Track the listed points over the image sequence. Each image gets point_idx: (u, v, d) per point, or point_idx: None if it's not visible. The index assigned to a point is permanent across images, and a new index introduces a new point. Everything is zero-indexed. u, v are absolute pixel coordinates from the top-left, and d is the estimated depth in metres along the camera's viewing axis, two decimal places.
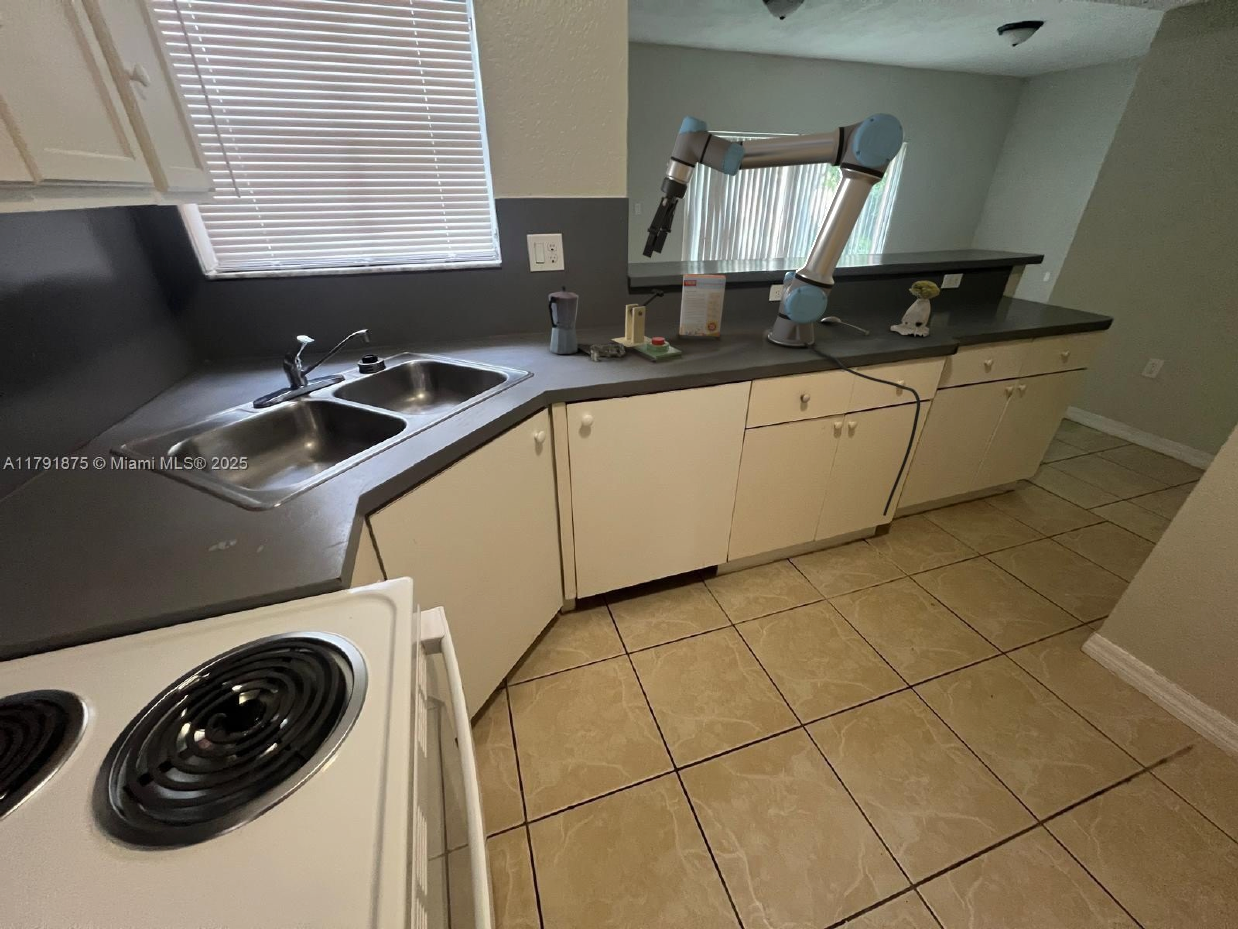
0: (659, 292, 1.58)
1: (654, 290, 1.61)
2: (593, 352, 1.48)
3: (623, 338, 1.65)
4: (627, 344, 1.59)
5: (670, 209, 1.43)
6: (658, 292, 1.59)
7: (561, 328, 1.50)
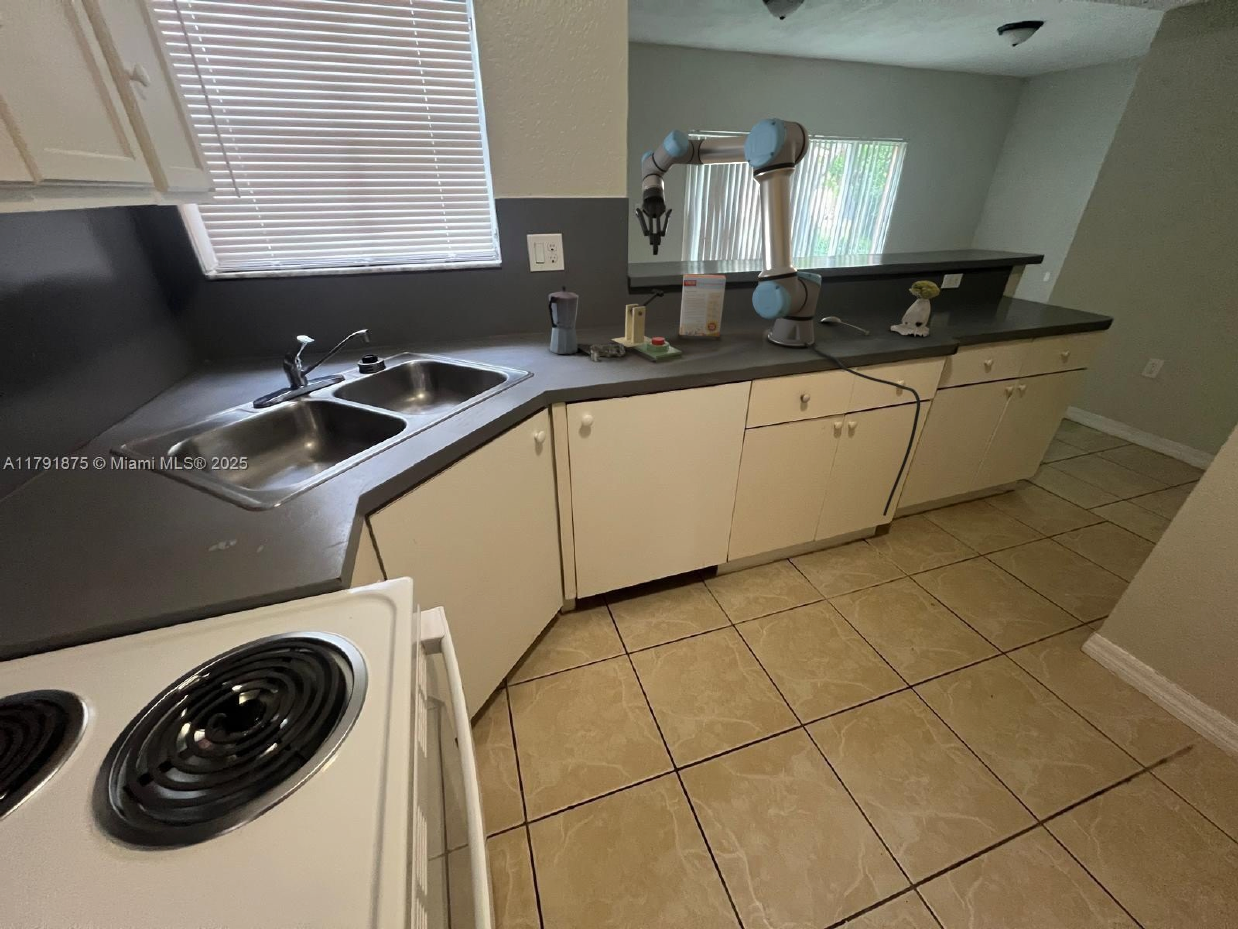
0: (659, 292, 1.58)
1: (654, 290, 1.61)
2: (593, 352, 1.48)
3: (623, 338, 1.65)
4: (627, 344, 1.59)
5: (649, 210, 1.66)
6: (658, 292, 1.59)
7: (561, 328, 1.50)
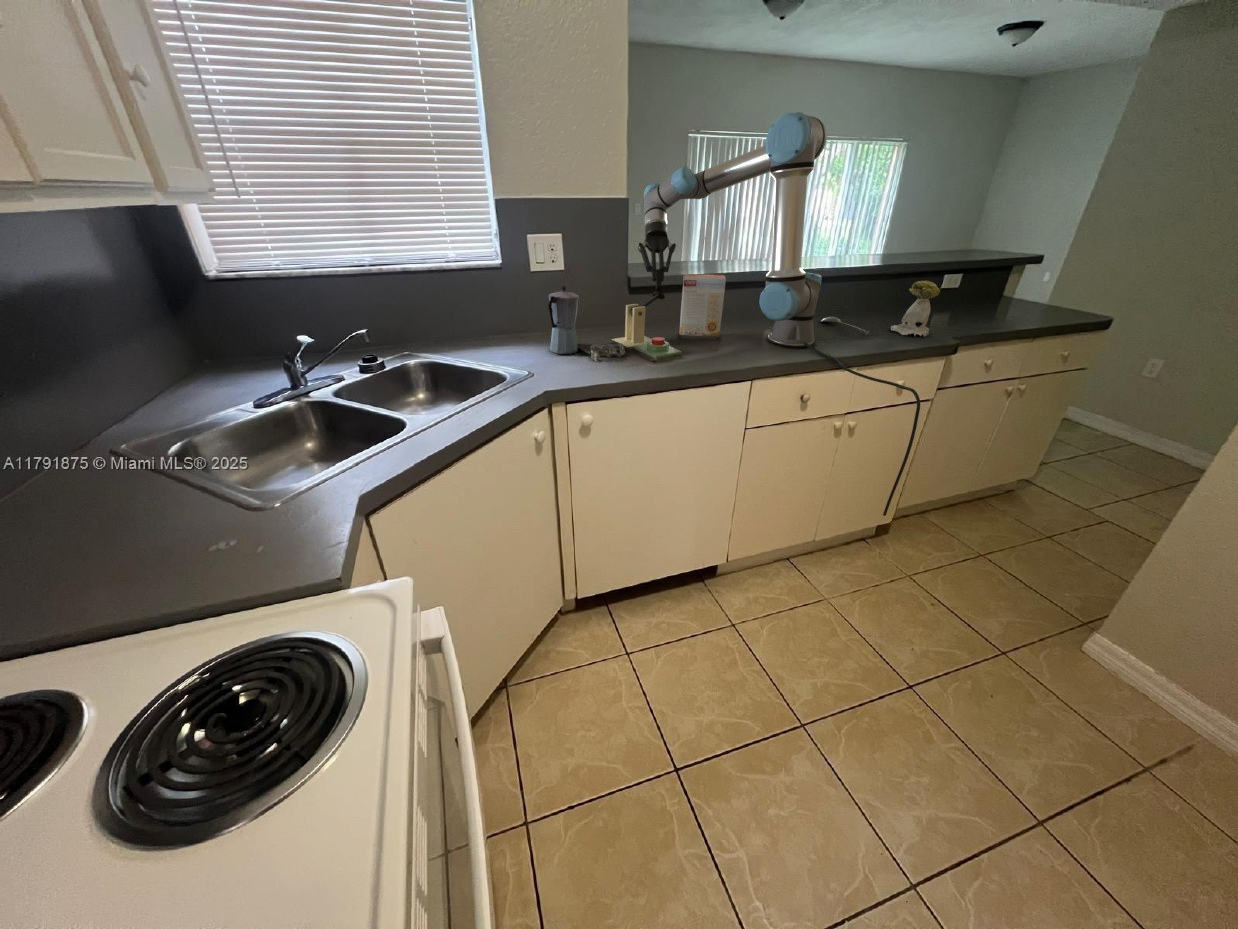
0: (660, 294, 1.59)
1: (655, 292, 1.61)
2: (593, 352, 1.48)
3: (623, 338, 1.65)
4: (627, 344, 1.59)
5: (651, 245, 1.61)
6: (659, 294, 1.59)
7: (561, 328, 1.50)
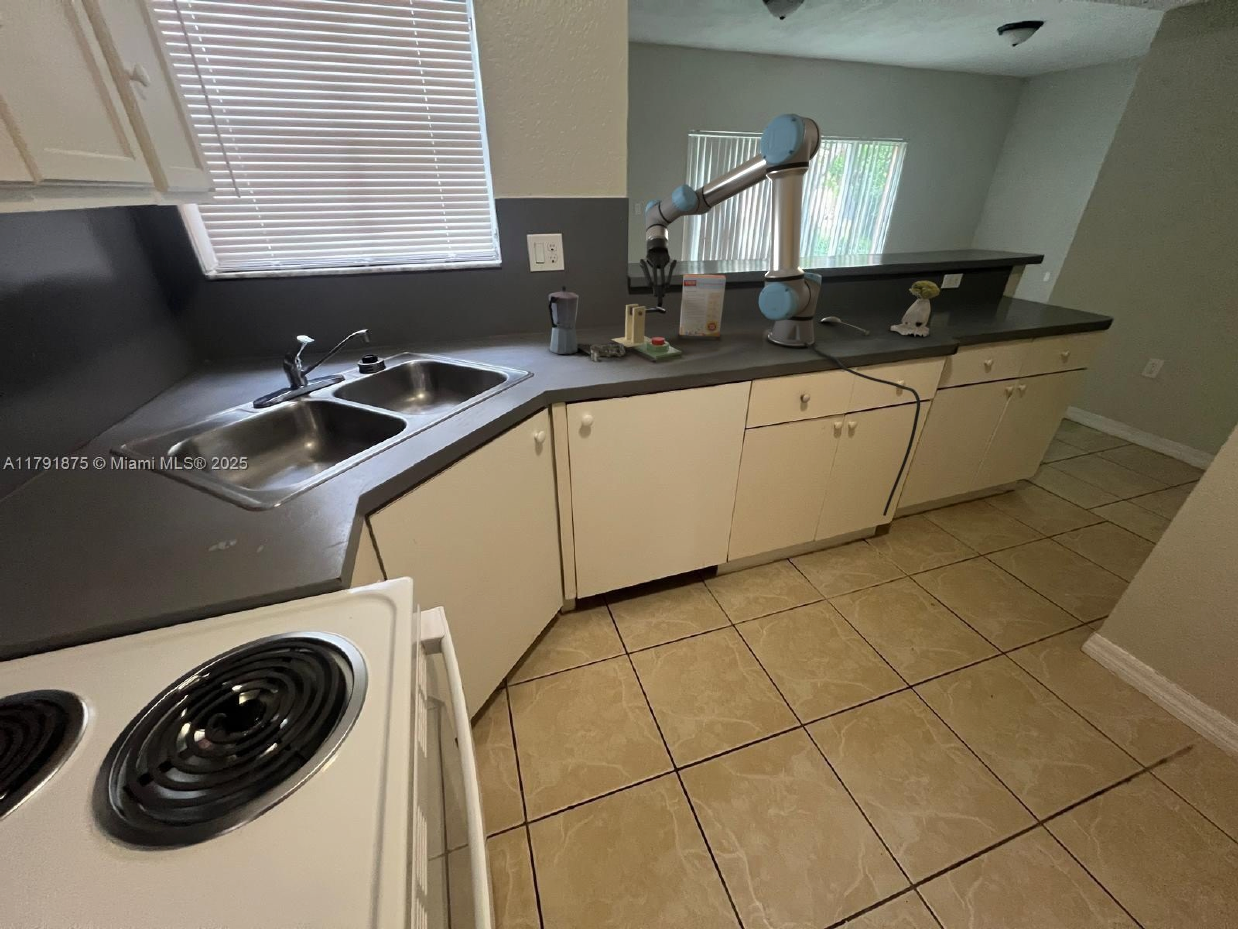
0: (662, 309, 1.62)
1: (657, 307, 1.64)
2: (593, 352, 1.48)
3: (623, 338, 1.65)
4: (627, 344, 1.59)
5: (653, 261, 1.64)
6: (661, 308, 1.62)
7: (561, 328, 1.50)
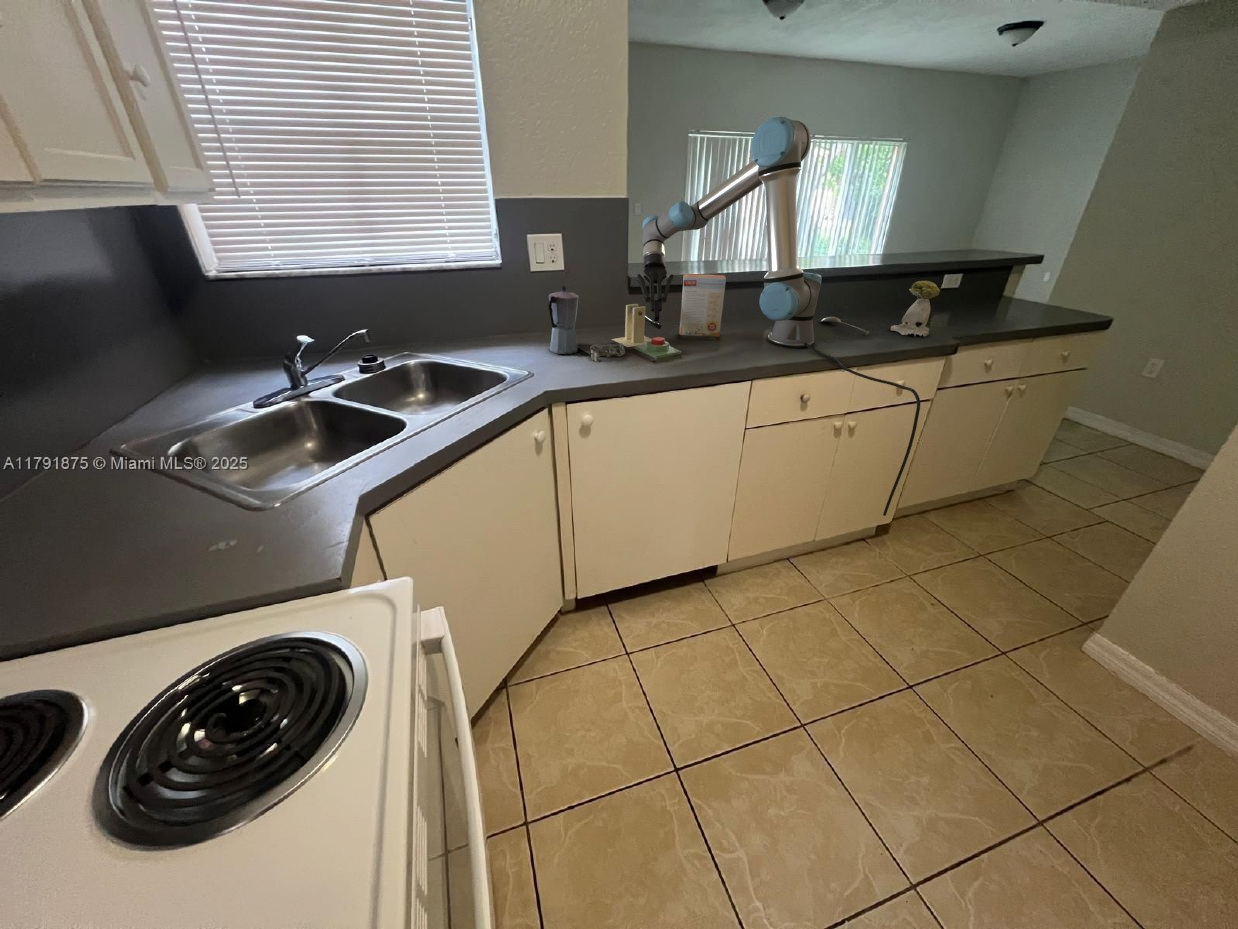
0: (658, 324, 1.64)
1: None
2: (593, 352, 1.48)
3: (623, 338, 1.65)
4: (627, 344, 1.59)
5: (650, 276, 1.66)
6: (657, 323, 1.64)
7: (561, 328, 1.50)
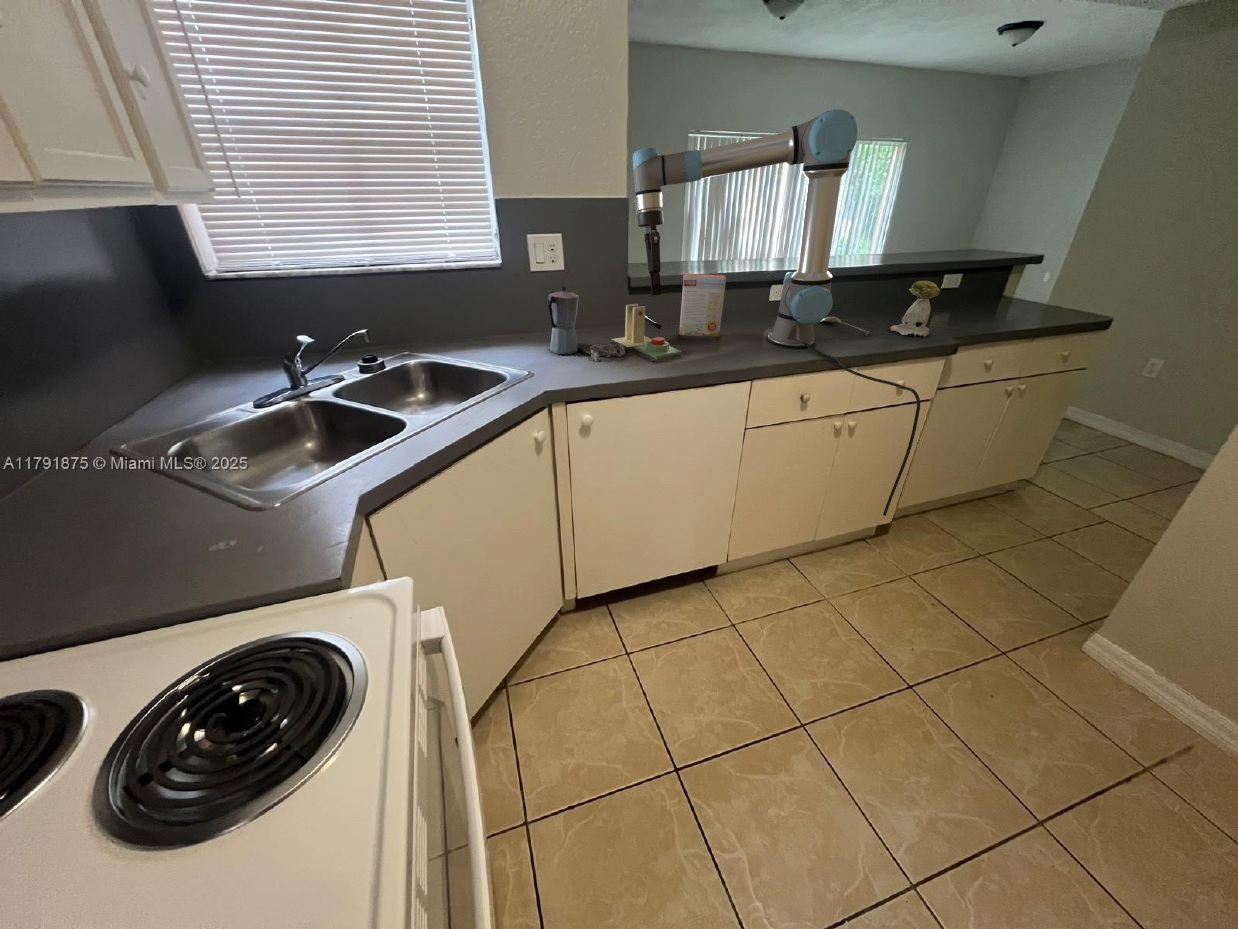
0: (658, 324, 1.64)
1: None
2: (593, 352, 1.48)
3: (623, 338, 1.65)
4: (627, 344, 1.59)
5: None
6: (657, 323, 1.64)
7: (561, 328, 1.50)
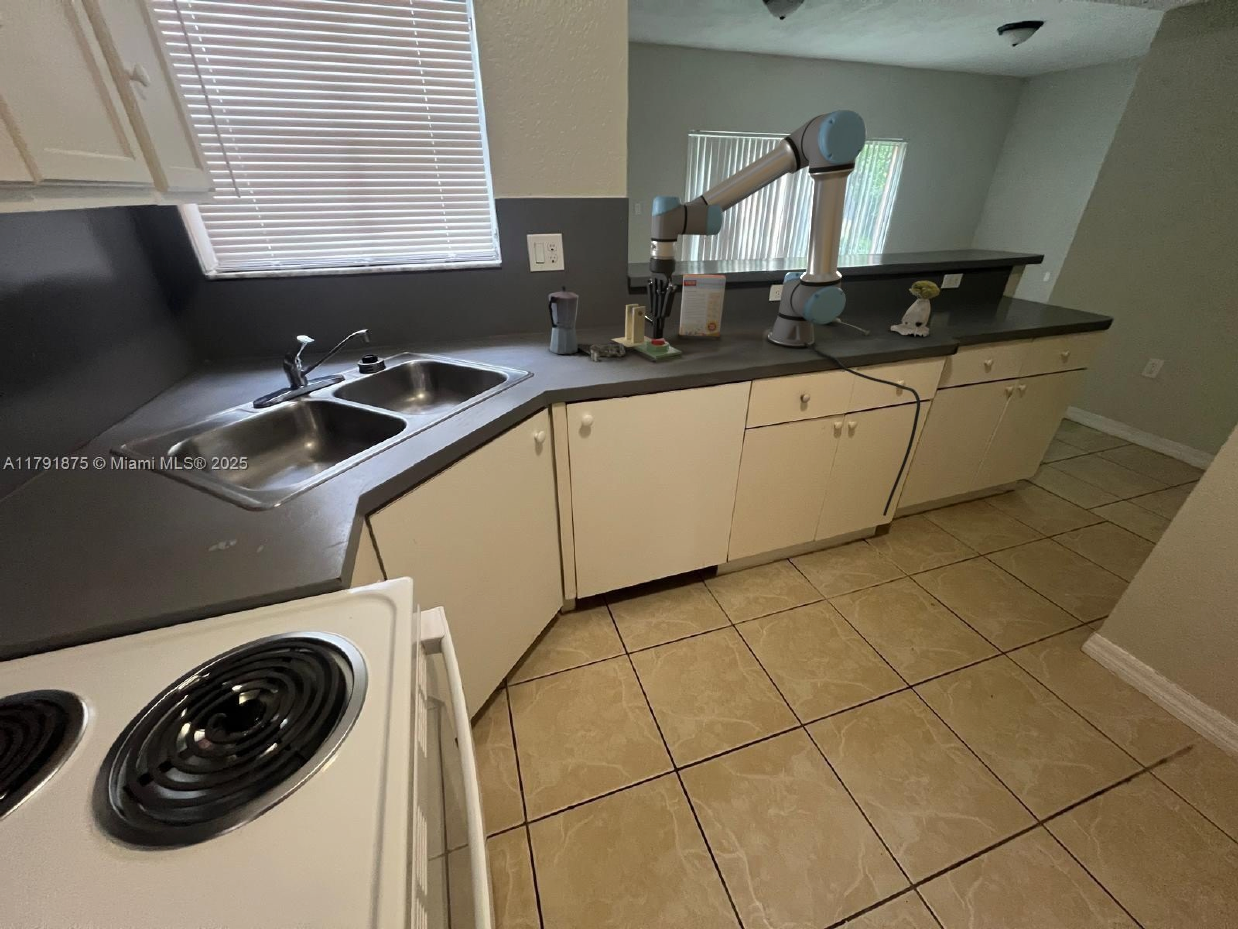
0: None
1: None
2: (593, 352, 1.48)
3: (623, 338, 1.65)
4: (627, 344, 1.59)
5: None
6: None
7: (561, 328, 1.50)
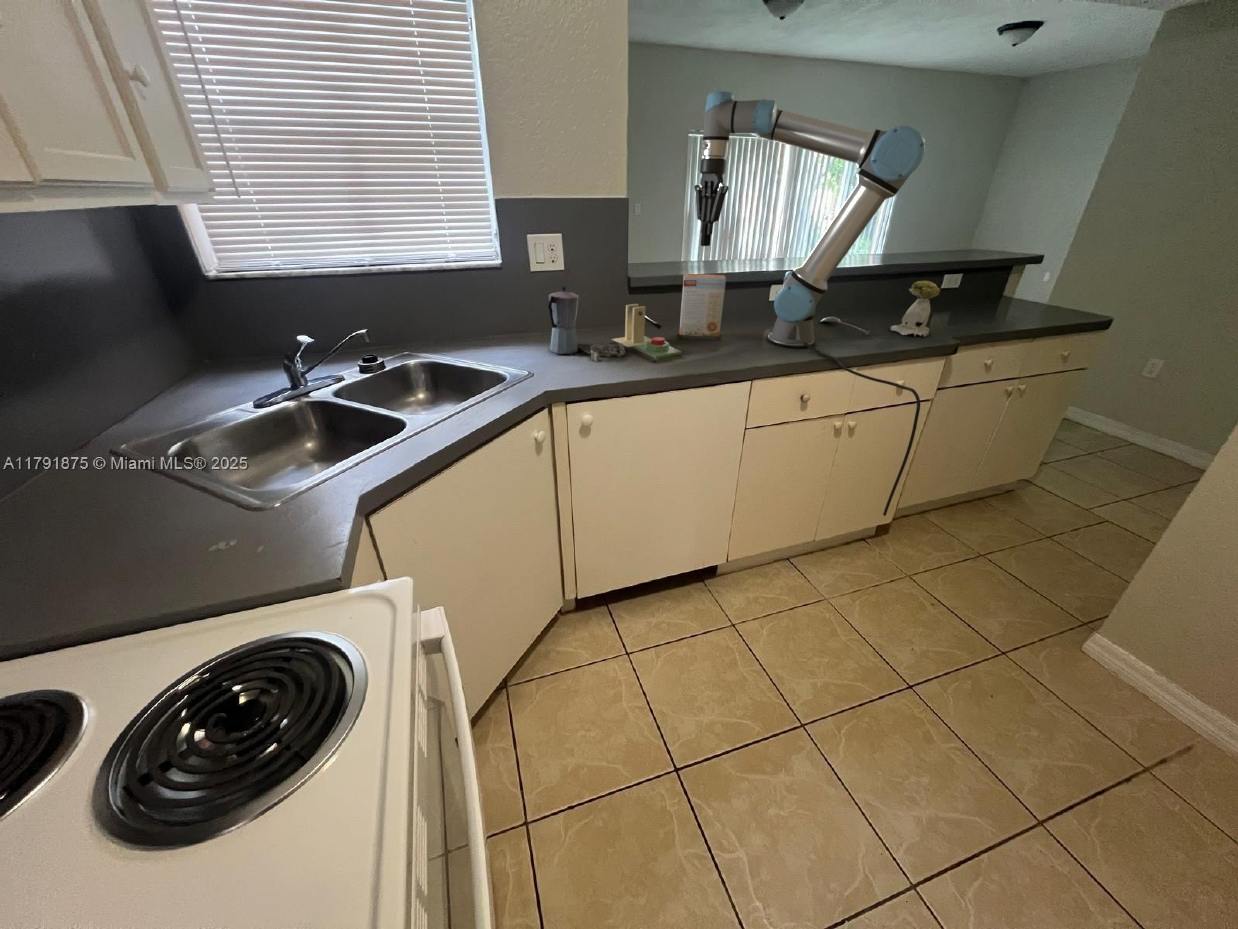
0: (658, 324, 1.64)
1: None
2: (593, 352, 1.48)
3: (623, 338, 1.65)
4: (627, 344, 1.59)
5: None
6: (657, 323, 1.64)
7: (561, 328, 1.50)
